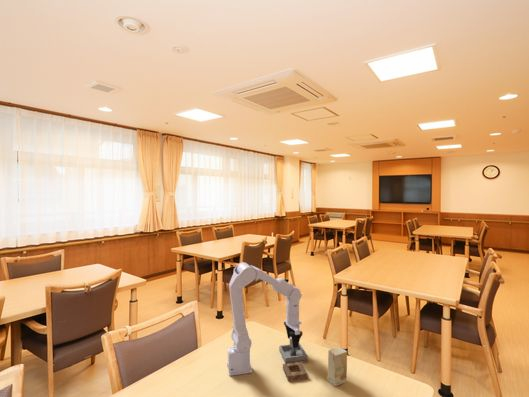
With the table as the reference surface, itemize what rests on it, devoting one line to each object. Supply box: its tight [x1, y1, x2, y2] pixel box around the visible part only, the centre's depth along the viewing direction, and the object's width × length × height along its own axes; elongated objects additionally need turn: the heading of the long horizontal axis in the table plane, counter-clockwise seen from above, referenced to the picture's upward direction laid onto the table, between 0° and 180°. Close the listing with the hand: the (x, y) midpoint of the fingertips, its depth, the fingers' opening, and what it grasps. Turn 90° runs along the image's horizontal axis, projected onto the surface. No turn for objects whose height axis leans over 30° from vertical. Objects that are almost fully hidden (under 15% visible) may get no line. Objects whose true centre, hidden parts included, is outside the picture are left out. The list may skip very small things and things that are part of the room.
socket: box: [282, 362, 308, 382], centre depth 116 cm, size 8×8×2 cm
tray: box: [278, 342, 308, 364], centre depth 129 cm, size 10×10×2 cm
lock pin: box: [289, 336, 296, 356], centre depth 128 cm, size 3×3×8 cm
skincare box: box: [327, 346, 348, 387], centre depth 111 cm, size 6×4×12 cm
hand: (292, 342), depth 128 cm, fingers open, 7 cm apart
